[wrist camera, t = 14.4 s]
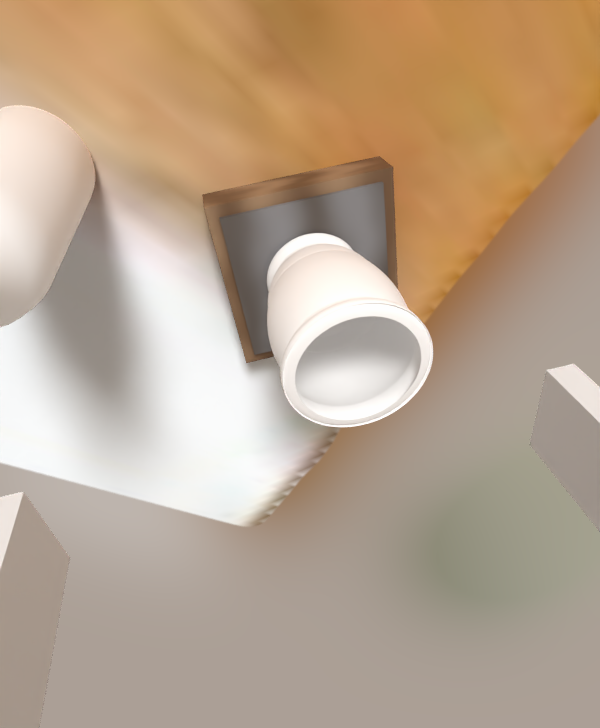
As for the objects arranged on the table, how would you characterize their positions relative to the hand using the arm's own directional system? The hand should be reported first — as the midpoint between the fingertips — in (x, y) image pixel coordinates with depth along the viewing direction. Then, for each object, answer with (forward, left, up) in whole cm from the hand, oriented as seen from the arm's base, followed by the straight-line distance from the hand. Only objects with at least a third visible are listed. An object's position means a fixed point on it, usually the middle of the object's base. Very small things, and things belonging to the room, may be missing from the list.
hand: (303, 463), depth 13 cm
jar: (+6, -12, -32) cm, 35 cm away
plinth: (+6, -12, -36) cm, 39 cm away
